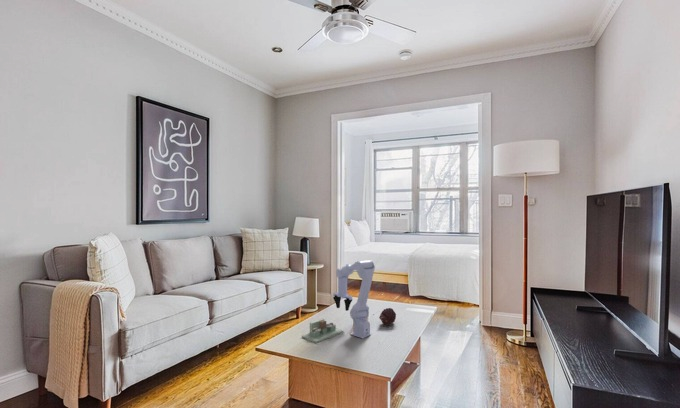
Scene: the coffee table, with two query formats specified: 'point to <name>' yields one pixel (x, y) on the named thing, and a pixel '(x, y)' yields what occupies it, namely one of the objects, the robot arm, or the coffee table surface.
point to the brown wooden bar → (322, 326)
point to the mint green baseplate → (321, 332)
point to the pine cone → (388, 316)
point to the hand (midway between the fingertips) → (342, 309)
